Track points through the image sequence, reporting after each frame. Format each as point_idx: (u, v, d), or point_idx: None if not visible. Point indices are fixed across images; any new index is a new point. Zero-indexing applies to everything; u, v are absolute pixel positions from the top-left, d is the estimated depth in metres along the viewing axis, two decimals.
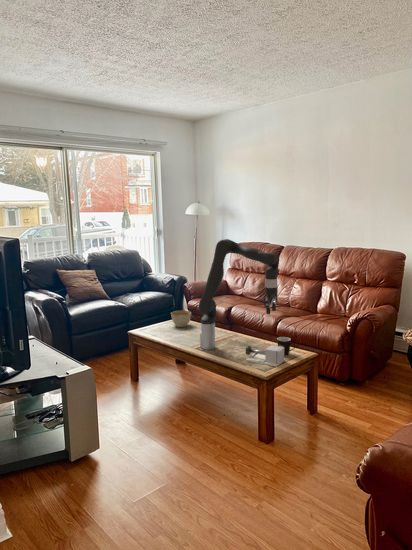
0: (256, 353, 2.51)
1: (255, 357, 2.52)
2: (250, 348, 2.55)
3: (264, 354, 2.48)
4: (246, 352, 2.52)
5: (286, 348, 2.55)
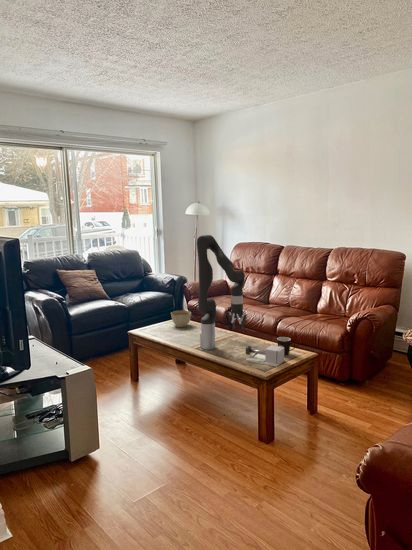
0: (256, 353, 2.51)
1: (255, 357, 2.52)
2: (250, 348, 2.55)
3: (264, 354, 2.48)
4: (246, 352, 2.52)
5: (286, 348, 2.55)
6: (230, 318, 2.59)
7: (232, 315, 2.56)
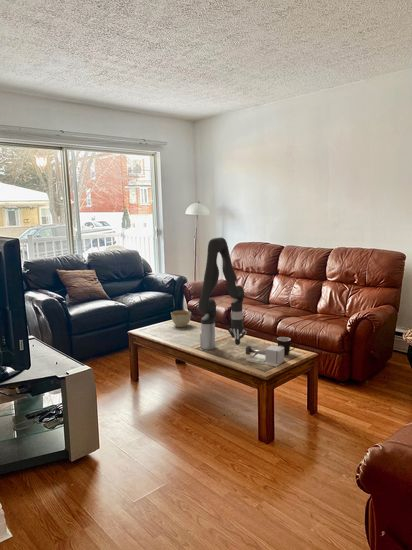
0: (256, 353, 2.51)
1: (255, 357, 2.52)
2: (250, 348, 2.55)
3: (264, 354, 2.48)
4: (246, 352, 2.52)
5: (286, 348, 2.55)
6: (233, 334, 2.59)
7: (233, 331, 2.57)
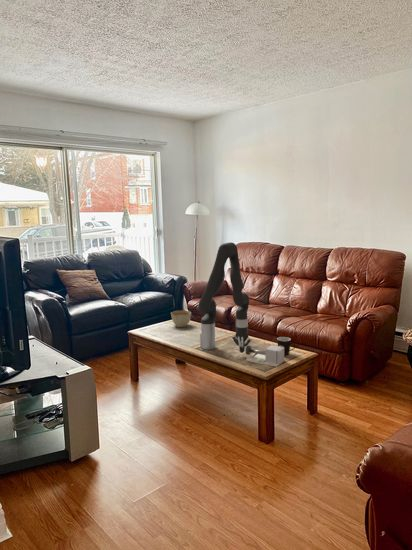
0: (256, 353, 2.51)
1: (255, 357, 2.52)
2: (250, 348, 2.55)
3: (264, 354, 2.48)
4: (246, 352, 2.52)
5: (286, 348, 2.55)
6: (237, 342, 2.59)
7: (238, 339, 2.56)
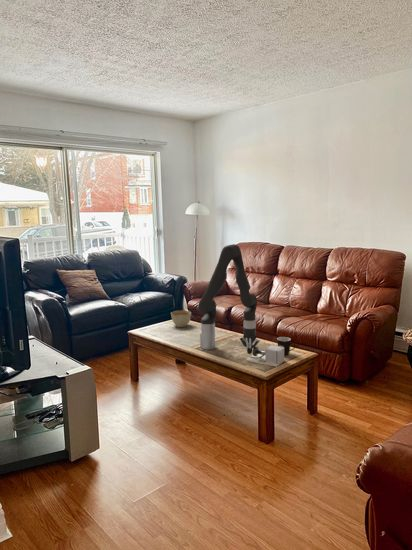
0: (263, 354, 2.48)
1: (255, 357, 2.52)
2: (257, 349, 2.53)
3: None
4: (253, 353, 2.50)
5: (286, 348, 2.55)
6: (245, 343, 2.56)
7: (245, 340, 2.53)
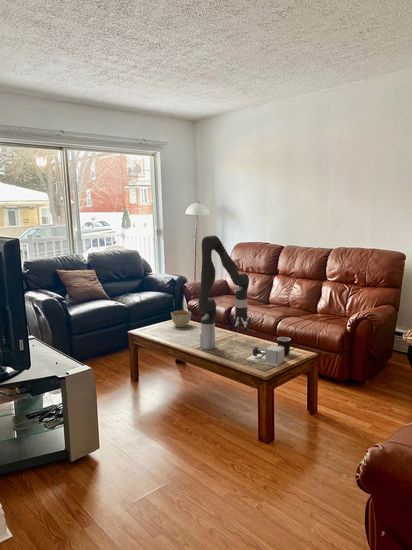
0: (263, 354, 2.48)
1: (255, 357, 2.52)
2: (257, 349, 2.53)
3: None
4: (253, 353, 2.50)
5: (286, 348, 2.55)
6: None
7: (236, 318, 2.55)
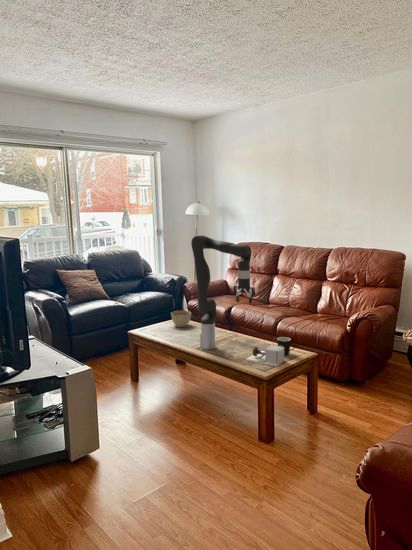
0: (263, 354, 2.48)
1: (255, 357, 2.52)
2: (257, 349, 2.53)
3: None
4: (253, 353, 2.50)
5: (286, 348, 2.55)
6: (235, 292, 2.61)
7: (239, 289, 2.58)
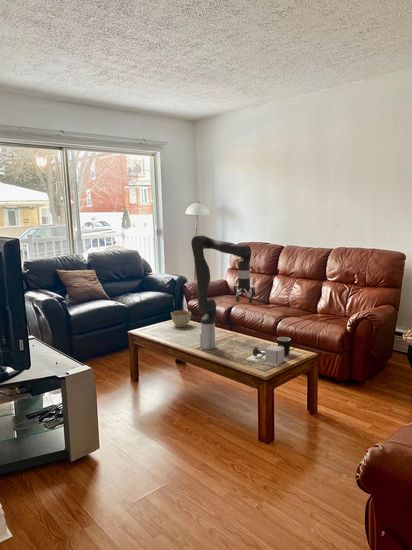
0: (263, 354, 2.48)
1: (255, 357, 2.52)
2: (257, 349, 2.53)
3: None
4: (253, 353, 2.50)
5: (286, 348, 2.55)
6: (235, 291, 2.61)
7: (239, 289, 2.58)
